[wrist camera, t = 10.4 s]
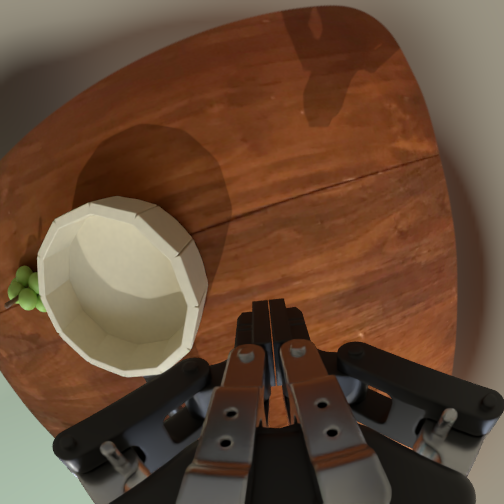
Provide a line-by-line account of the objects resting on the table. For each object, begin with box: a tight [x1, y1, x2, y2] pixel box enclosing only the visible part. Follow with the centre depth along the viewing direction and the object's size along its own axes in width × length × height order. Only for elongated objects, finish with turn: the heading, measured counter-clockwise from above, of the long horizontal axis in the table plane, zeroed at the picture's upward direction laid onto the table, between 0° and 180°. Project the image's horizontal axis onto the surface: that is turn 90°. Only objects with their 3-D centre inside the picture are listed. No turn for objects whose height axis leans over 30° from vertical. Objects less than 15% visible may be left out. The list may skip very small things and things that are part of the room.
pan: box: [37, 196, 208, 417], centre depth 21 cm, size 23×14×5 cm, turn 16°
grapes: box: [5, 266, 47, 312], centre depth 20 cm, size 7×5×6 cm, turn 66°
